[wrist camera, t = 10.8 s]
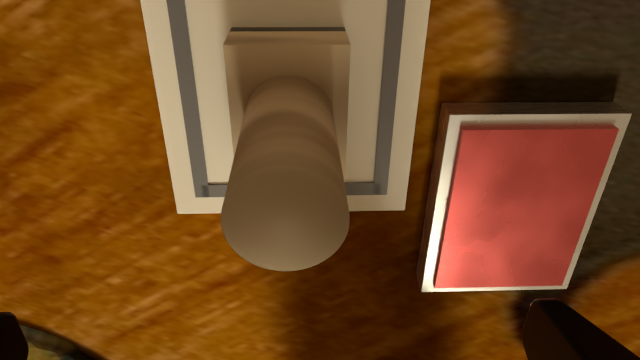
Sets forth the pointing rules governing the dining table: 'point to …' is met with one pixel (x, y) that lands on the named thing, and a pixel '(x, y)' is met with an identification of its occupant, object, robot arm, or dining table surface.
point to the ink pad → (515, 192)
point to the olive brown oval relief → (50, 346)
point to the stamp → (287, 144)
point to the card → (212, 97)
